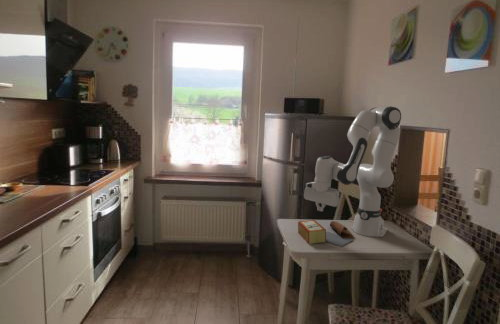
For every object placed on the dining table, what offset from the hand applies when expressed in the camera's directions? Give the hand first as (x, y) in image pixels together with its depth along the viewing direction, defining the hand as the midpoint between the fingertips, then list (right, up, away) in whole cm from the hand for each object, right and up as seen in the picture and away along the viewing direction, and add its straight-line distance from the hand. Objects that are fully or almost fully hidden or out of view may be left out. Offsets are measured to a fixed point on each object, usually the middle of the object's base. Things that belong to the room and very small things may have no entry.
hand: (320, 210), depth 182 cm
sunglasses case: (+13, -13, +6) cm, 20 cm away
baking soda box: (-7, -9, +3) cm, 12 cm away
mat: (+7, -15, -4) cm, 17 cm away
